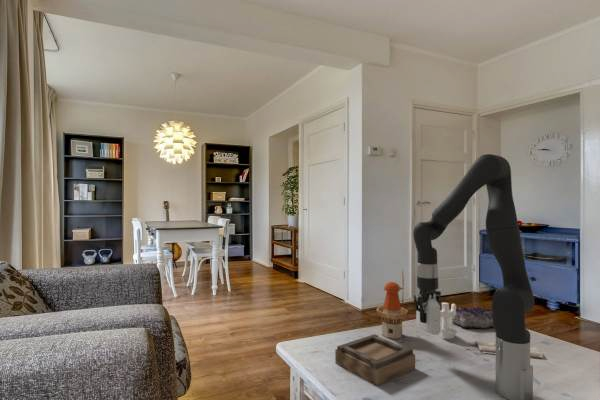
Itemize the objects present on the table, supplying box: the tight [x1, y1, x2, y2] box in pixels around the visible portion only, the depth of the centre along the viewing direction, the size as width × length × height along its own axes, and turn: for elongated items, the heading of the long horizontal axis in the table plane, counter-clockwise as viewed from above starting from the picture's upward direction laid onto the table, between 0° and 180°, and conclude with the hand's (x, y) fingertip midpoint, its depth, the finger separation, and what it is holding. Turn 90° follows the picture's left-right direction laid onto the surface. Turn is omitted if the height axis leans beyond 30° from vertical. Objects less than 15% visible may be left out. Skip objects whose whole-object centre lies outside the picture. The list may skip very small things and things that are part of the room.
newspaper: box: [474, 340, 544, 359], centre depth 141 cm, size 23×12×2 cm, turn 72°
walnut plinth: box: [334, 333, 416, 387], centre depth 128 cm, size 20×20×6 cm
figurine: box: [437, 302, 459, 340], centre depth 156 cm, size 7×9×15 cm
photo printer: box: [415, 298, 441, 336], centre depth 132 cm, size 10×4×12 cm, turn 17°
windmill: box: [376, 268, 409, 340], centre depth 156 cm, size 17×14×30 cm
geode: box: [451, 307, 494, 330], centre depth 170 cm, size 20×12×10 cm, turn 90°
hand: (428, 320), depth 132 cm, fingers closed on photo printer, 5 cm apart
